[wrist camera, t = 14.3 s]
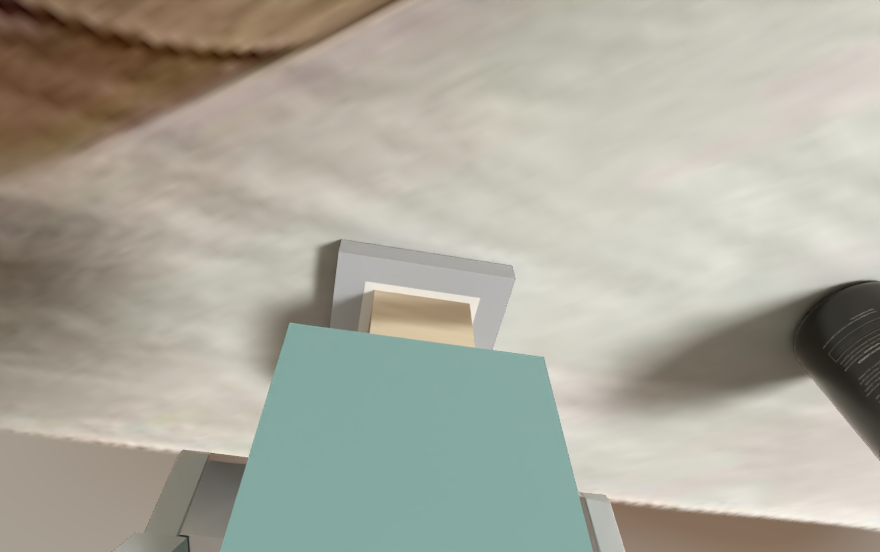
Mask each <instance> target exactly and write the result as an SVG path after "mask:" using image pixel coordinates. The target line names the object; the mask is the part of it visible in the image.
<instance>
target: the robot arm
mask: <svg viewBox="0 0 880 552" xmlns="http://www.w3.org/2000/svg"><path fill="white" fill-rule="evenodd" d="M247 461H248V457H240V456H232V455H224V454H216V453H209V452H200V451H191V450H182V451H181V453H180V454H179V455H178V457H177V458H176V460H175V463H174V465H173V467H172V470H171V472H170V474H169V477H168V479H167V481H166V483H165V486H164V488H163V490H162V493H161V495H160V497H159V500H158V502H157V504H156V507H155V509H154V511H153V513H152V516H151V518H150V520H149V523H148V525H147V527H146V530H145V532H144V533H134V534H133V535H131V536H130V537H129V538H128V539H127V540H126V541H124V542H123V543H122V544H120V545H119V546H118V547H117V548H115V549H114V550H113V551H112V552H220V549H221V546H222V543H223V540H224V536H225V533H226V530H227V526H228V523H229V520H230V517H231V513H232V510H233V507H234V503H235V500H236V497H237V494H238V490H239V487H240V484H241V480H242V477H243V474H244V471H245V467H246V464H247ZM578 494H579V498H580V502H581V506H582V510H583V514H584V518H585V522H586V526H587V530H588V534H589V538H590V541H591V545H592V549H593V552H625V549H624V546H623V543H622V539H621V536H620V533H619V530H618V527H617V523H616V520H615V517H614V514H613V510H612V507H611V504H610V501H609V499H608V498H607V497H606V495H602V494H592V493H580V492H578Z"/></svg>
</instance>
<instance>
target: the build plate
mask: <svg viewBox="0 0 880 552" xmlns="http://www.w3.org/2000/svg"><path fill="white" fill-rule="evenodd" d="M515 279H516V278H515V274H514V270H513V266H509V265H502V264H496V263H490V262H483V261H477V260H470V259H464V258H457V257H451V256H444V255H438V254H432V253H425V252H419V251H412V250H406V249H399V248H393V247H386V246H380V245H373V244H367V243H361V242H354V241H348V240H341V244H340V248H339V253H338V261H337V270H336V278H335V286H334V295H333V303H332V311H331V319H330V328H334V329H341V330H348V331H356V332H363V333H367V332H368V326H369V320H370V315H371V309H372V303H373V297H374V291H375V290H380V291H386V292H393V293H400V294H407V295H414V296H421V297H428V298H435V299H442V300H449V301H456V302H462V303H469V304H470V310H471V318H472V326H473V335H474V343H475V348H481V349H488V350H493V346H494V343H495V340H496V337H497V334H498V331H499V328H500V325H501V322H502V319H503V316H504V313H505V310H506V307H507V304H508V301H509V297H510V294H511V291H512V288H513V285H514V282H515Z"/></svg>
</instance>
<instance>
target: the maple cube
mask: <svg viewBox="0 0 880 552" xmlns="http://www.w3.org/2000/svg"><path fill="white" fill-rule="evenodd" d="M367 333H370V334H378V335H385V336H392V337H400V338H407V339H414V340H422V341H429V342H437V343H444V344H451V345H459V346H466V347H473V348H475V343H474V335H473V326H472V318H471V310H470V304H469V303H462V302H456V301H449V300H442V299H435V298H428V297H421V296H414V295H407V294H400V293H393V292H386V291H380V290H375V291H374V297H373V303H372V309H371V315H370V320H369V326H368V332H367Z"/></svg>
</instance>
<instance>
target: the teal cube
mask: <svg viewBox="0 0 880 552" xmlns="http://www.w3.org/2000/svg"><path fill="white" fill-rule="evenodd" d="M220 552H593V549H592V545H591V541H590V538H589V534H588V530H587V526H586V522H585V518H584V514H583V510H582V506H581V502H580V498H579V494H578V490H577V486H576V482H575V478H574V474H573V470H572V466H571V463H570V459H569V455H568V451H567V447H566V443H565V439H564V435H563V431H562V427H561V423H560V419H559V415H558V411H557V407H556V403H555V399H554V395H553V391H552V388H551V384H550V380H549V376H548V372H547V368H546V364H545V360H544V357H540V356H532V355H525V354H517V353H510V352H503V351H495V350H488V349H481V348H473V347H466V346H459V345H451V344H444V343H437V342H429V341H422V340H414V339H407V338H400V337H392V336H385V335H378V334H370V333H363V332H356V331H348V330H341V329H334V328H326V327H319V326H311V325H304V324H297V323H289V326H288V329H287V333H286V336H285V339H284V342H283V346H282V349H281V352H280V356H279V359H278V362H277V365H276V369H275V372H274V375H273V379H272V382H271V385H270V388H269V392H268V395H267V398H266V402H265V405H264V408H263V411H262V415H261V418H260V421H259V425H258V428H257V431H256V434H255V438H254V441H253V444H252V448H251V451H250V454H249V457H248V461H247V464H246V467H245V471H244V474H243V477H242V480H241V484H240V487H239V490H238V494H237V497H236V500H235V503H234V507H233V510H232V513H231V517H230V520H229V523H228V526H227V530H226V533H225V536H224V540H223V543H222V546H221V549H220Z"/></svg>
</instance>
